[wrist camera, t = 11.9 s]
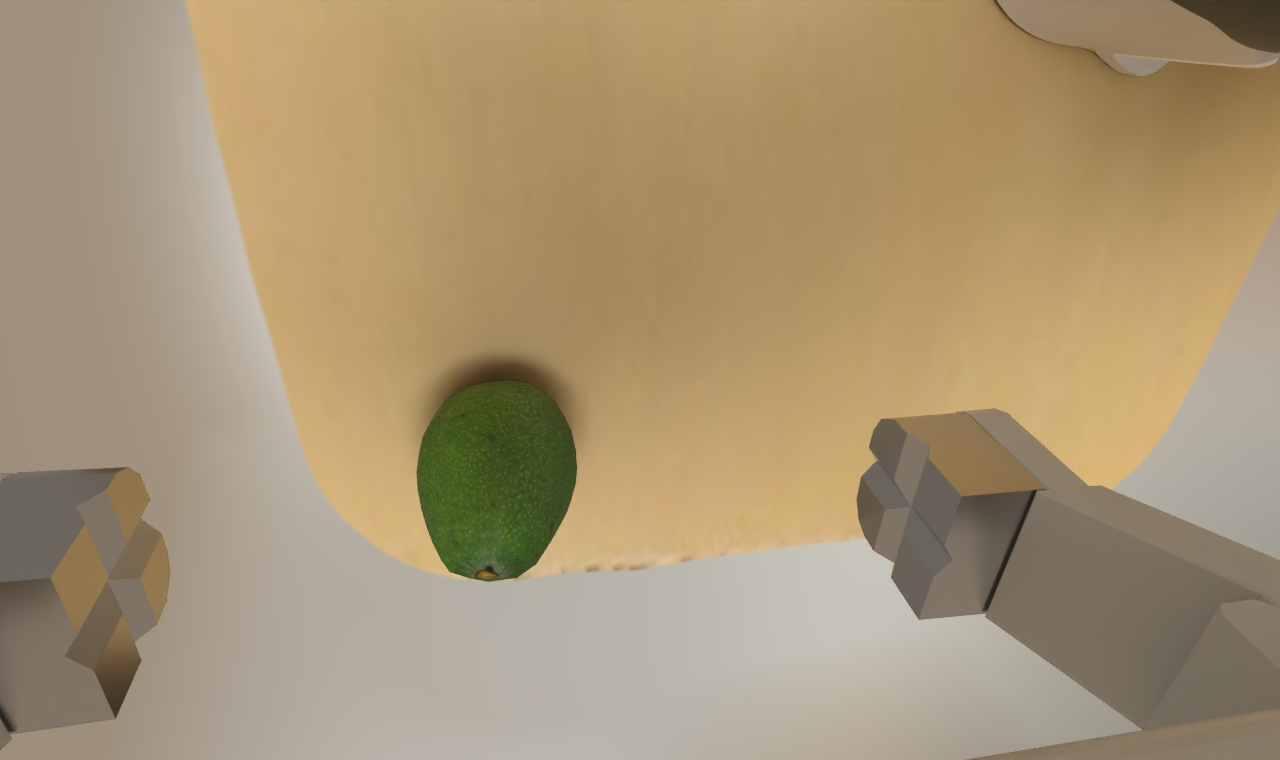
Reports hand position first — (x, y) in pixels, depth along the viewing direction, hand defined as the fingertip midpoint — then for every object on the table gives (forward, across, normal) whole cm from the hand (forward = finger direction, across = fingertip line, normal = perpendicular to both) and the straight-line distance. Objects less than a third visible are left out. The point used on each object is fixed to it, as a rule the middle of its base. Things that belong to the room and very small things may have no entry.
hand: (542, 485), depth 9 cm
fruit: (+30, 0, +18) cm, 35 cm away
